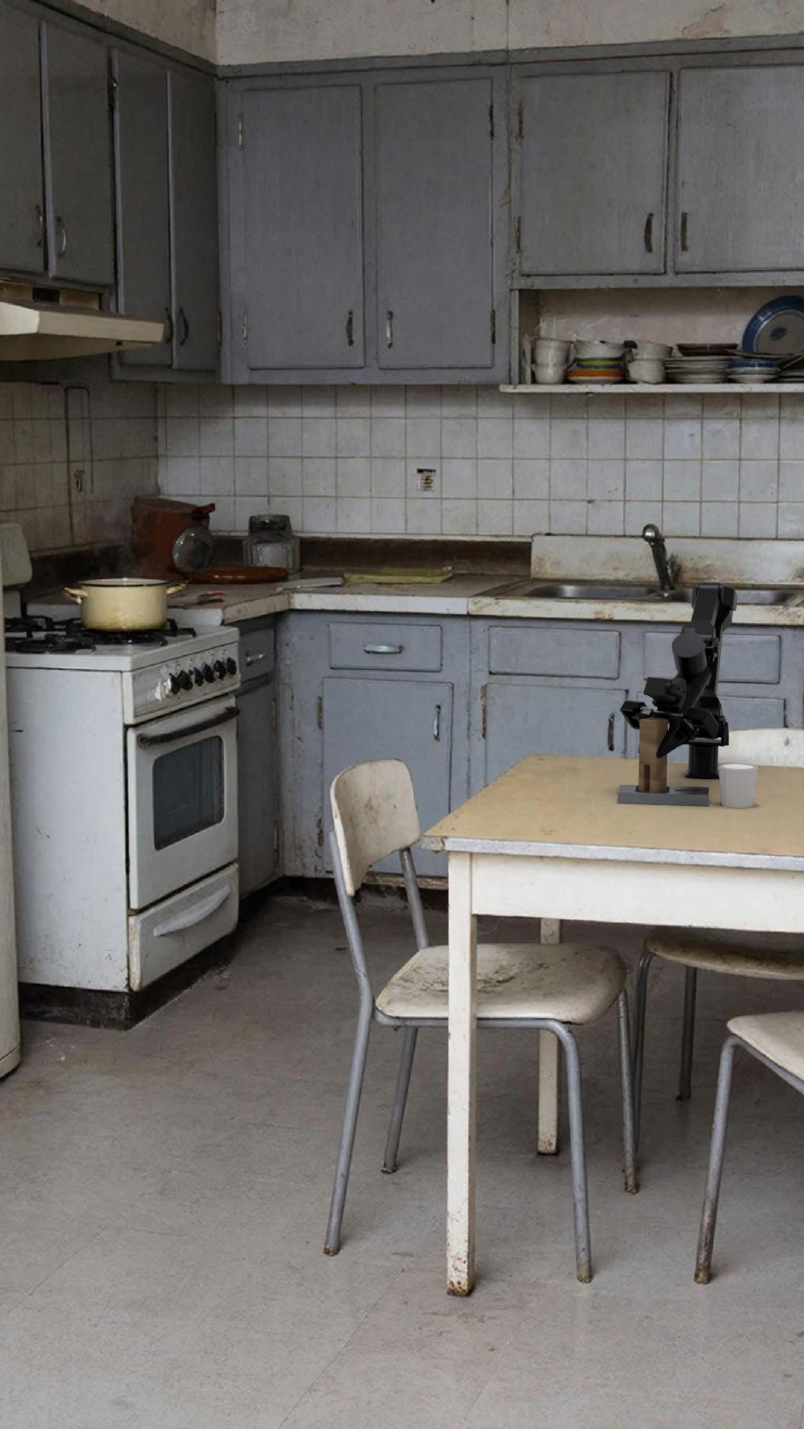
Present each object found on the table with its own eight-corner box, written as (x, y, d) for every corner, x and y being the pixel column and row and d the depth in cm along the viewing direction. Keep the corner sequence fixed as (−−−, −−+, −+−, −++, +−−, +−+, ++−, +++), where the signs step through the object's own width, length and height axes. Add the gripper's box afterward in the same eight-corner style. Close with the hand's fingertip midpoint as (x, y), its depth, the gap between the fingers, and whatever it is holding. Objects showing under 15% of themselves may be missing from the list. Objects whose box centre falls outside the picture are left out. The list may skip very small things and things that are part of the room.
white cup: (712, 806, 298) (713, 767, 297) (724, 799, 304) (725, 761, 303) (750, 809, 295) (751, 770, 294) (761, 803, 301) (762, 764, 300)
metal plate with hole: (619, 795, 308) (620, 783, 308) (708, 798, 305) (708, 786, 305) (617, 803, 301) (618, 791, 300) (708, 806, 298) (708, 794, 298)
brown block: (650, 787, 306) (651, 717, 304) (666, 790, 303) (668, 719, 301) (638, 790, 303) (639, 719, 301) (654, 793, 300) (656, 721, 299)
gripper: (626, 656, 309) (588, 722, 303) (711, 664, 296) (673, 733, 290) (651, 694, 316) (614, 759, 309) (735, 704, 302) (698, 772, 296)
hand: (648, 755), depth 301 cm, fingers closed on brown block, 4 cm apart
